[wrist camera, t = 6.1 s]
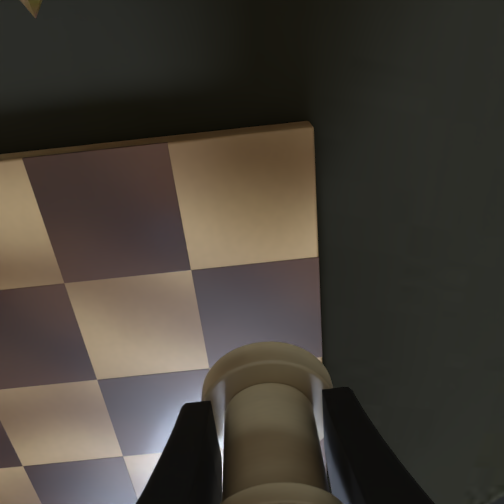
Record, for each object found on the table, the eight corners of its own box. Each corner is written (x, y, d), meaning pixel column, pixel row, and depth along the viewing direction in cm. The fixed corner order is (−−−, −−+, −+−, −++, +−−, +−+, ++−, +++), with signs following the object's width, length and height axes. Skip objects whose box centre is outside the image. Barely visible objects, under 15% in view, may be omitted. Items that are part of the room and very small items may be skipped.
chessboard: (326, 535, 22) (329, 554, 21) (4, 565, 22) (-5, 586, 22) (309, 120, 13) (314, 126, 12) (-235, 179, 13) (-266, 189, 12)
